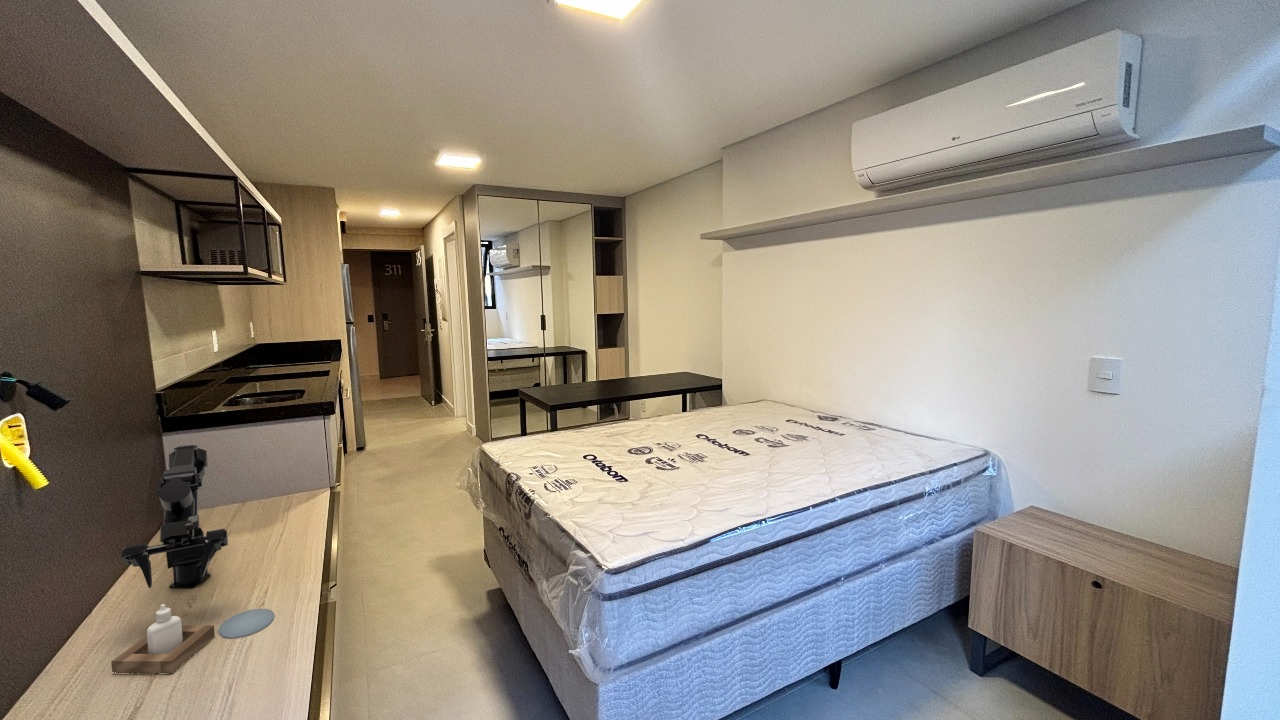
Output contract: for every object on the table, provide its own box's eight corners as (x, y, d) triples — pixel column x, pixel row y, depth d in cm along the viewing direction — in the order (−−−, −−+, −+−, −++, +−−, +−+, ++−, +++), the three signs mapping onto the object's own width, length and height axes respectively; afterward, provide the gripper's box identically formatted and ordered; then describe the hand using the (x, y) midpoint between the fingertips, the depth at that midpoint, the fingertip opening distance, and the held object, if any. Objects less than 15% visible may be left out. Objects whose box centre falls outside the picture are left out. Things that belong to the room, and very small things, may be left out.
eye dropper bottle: (181, 656, 115) (178, 606, 113) (147, 665, 111) (143, 614, 110) (184, 644, 118) (181, 596, 117) (151, 653, 115) (147, 603, 114)
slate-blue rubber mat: (206, 638, 121) (206, 636, 121) (239, 609, 131) (239, 608, 131) (255, 638, 121) (255, 636, 121) (284, 610, 132) (284, 608, 132)
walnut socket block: (112, 674, 108) (111, 661, 108) (161, 636, 120) (160, 625, 120) (172, 674, 109) (171, 661, 109) (214, 636, 121) (214, 625, 121)
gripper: (119, 514, 116) (112, 583, 109) (225, 498, 127) (225, 560, 120) (129, 531, 124) (123, 597, 117) (228, 515, 135) (228, 574, 128)
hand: (176, 581), depth 120 cm, fingers open, 9 cm apart
